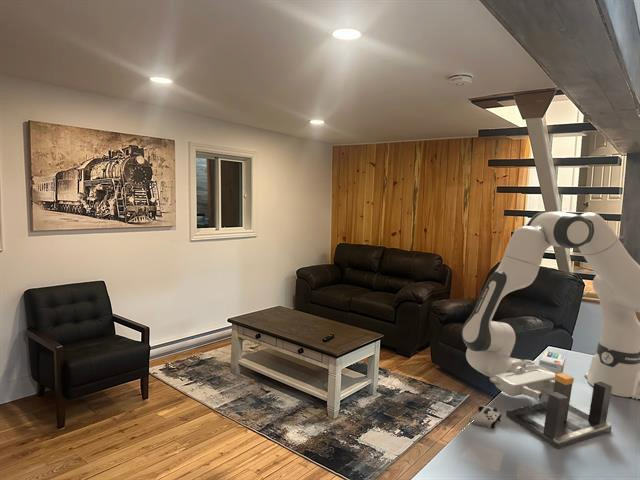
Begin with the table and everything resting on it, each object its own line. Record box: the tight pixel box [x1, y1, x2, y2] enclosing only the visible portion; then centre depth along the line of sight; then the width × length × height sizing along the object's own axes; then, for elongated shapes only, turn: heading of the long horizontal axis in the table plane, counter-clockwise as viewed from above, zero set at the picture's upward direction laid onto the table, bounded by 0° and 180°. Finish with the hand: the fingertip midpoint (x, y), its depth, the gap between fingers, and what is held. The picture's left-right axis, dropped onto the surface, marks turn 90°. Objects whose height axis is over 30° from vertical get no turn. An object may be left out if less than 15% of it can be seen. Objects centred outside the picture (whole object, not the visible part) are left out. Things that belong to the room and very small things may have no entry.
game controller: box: [468, 405, 502, 430], centre depth 119 cm, size 10×5×6 cm
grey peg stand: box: [505, 382, 613, 450], centre depth 119 cm, size 22×16×12 cm
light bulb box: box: [538, 350, 566, 396], centre depth 141 cm, size 11×7×11 cm, turn 146°
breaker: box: [553, 372, 575, 421], centre depth 119 cm, size 3×3×12 cm
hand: (551, 393), depth 122 cm, fingers open, 8 cm apart
